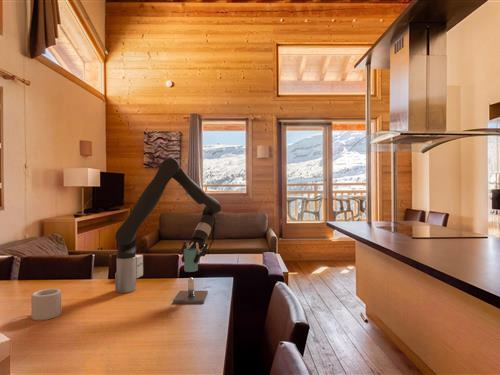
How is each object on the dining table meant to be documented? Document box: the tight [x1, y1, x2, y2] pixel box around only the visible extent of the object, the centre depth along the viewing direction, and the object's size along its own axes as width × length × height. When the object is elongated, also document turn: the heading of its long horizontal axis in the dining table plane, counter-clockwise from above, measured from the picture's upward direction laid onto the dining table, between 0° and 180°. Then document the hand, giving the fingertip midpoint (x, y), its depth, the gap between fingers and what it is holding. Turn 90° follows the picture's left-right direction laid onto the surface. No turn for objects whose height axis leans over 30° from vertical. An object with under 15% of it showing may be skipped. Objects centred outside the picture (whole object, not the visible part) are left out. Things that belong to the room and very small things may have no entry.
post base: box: [172, 277, 209, 305], centre depth 159 cm, size 14×14×10 cm
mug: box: [30, 288, 63, 321], centre depth 140 cm, size 14×11×10 cm
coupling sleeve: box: [183, 248, 199, 273], centre depth 159 cm, size 6×6×10 cm
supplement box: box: [136, 254, 144, 280], centre depth 199 cm, size 7×7×13 cm
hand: (189, 262), depth 158 cm, fingers closed on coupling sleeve, 6 cm apart
